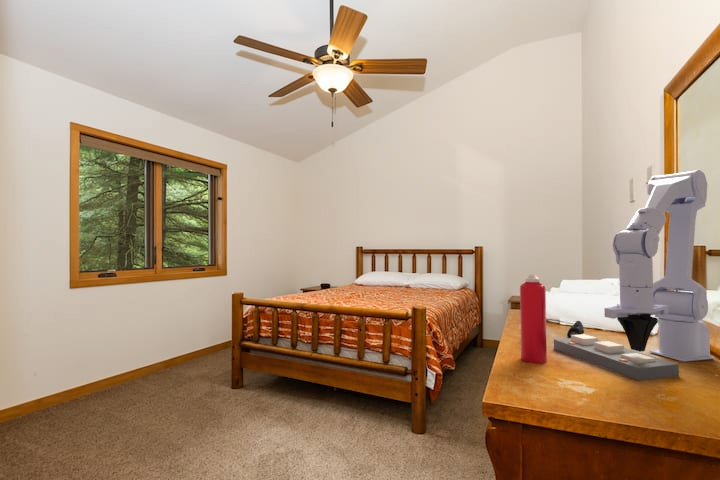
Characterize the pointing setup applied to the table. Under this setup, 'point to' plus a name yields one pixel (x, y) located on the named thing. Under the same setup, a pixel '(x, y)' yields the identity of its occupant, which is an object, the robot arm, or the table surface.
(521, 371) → the table surface
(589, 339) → the key
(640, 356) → the key
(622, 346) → the key middle
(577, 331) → the electric trimmer
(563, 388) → the table surface
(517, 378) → the table surface
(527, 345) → the bottle
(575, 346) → the key panel
